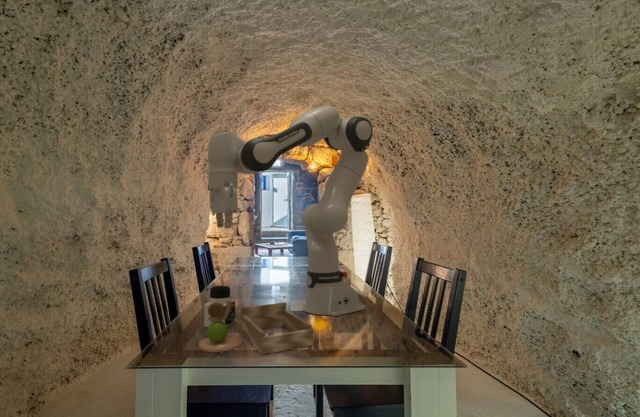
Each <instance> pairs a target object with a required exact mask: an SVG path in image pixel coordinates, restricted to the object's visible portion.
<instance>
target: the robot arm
mask: <svg viewBox="0 0 640 417" xmlns="http://www.w3.org/2000/svg"><path fill="white" fill-rule="evenodd" d="M373 131H374V130H373V125H372V123H371V121H370V120H369V119H368V118H366V117H365V116H353V117H348V118H344V119H343V118H341V116H340V113H339V112H338V110H337V109H336V108H335V107H333V106H331V105H323V106H320V107H316V108H313V109H310V110H308V111H306V112H304V113H302V114H300V115H299V116H297V117H296V118H295V119H293V120H292V121H290V124H289V127H288V128H286V129H284V130H282V131H280V132H278V133H276V134H274V135H272V136H267V137H263V136H262V137H261V136H260V137H254V138H250V139H249V140H248V141H246V140H244V139H242V138H240V137H239V136H238V135H236V134H235V132H234V131H229V130H225V131H223V130H222V131H218V132H215V133H213V134H212V135H211V136H210V137H209V140H208V145H207V146H208V147H207V161H208V165H209V166H208V167H209V169H208V173H207V174H208V175H207V178H208V183H207V191H209V204H210V205H209V206H210V211H211V213H212V214H215V219H216V227H217V228H219V229H220V228H224V229H231V228H232V221H233V218H234V216H233V213H234V214H235V213H237V212H238V209H239V205H238V203H239V201H238V191H237V190H238V189H239V188H238V184H239V182H238V177H239V176H238V173H240V174H245V175H254V174H257V173H260V172H265V171H268V170H269V169H271V168H272V167H273V166H274V164H275V163H276V161H277V160H278V159H279V158H280V157H281V156H282V155H284V154H286V153H287V152H290V151H291V150H293V149H295V148H297V147H300V148H306V147H310V146H313V145H315V144H317V143H319V142H321V141H323V140H324V142H325V144H326V145H327V147H328V148H330V149H332V150H335V151H340V155H339V156H340V157H339V159H338V161H337V163H336V164H335V166H334V167H333V170H332V171H331V173H330V175H329V176H328V179H327V180H326V181H325V184H324V192H323V195H322V198H321V200H320V201H319V202H317V203H312V204H310V205H308V206H306V208H304V210H303V212H302V214H301V222H302V225H303V226H304V232H305V238H306V244H307V254H308V256H307V257H308V258H307V259H308V260H307V262H308V263H307V264H308V265H307V266H308V267H307V268H308V269H307V271H306V284H307V285H306V286H307V292H306V300H305V303H304V307H303V311H304V312H306V313H308V314H312V315H322V316H324V315H325V316H331V317H332V316H333V317H338V316H341V315H345V314H346V315H347V314H350V313H354V312H359V311H364V310H365V309H366V307H365V305H364V304H363V303H362V302H360V301H359V300H360V299H359V295H358V293H357V291H356V290H355V289H354V288H353V287H352V286H350V284H348V283H347V282H345V281H344V279H343V278H345V279H346V278H348V276H349V273H348V272H347V271H341V270H339V267H340V266H339V248H338V245H337V243H336V241H335V236H334V233H338V232H340V231H342V230H343V229H344V228H345V227H346V226H347V224H348V220H349V214H348V211H349V207H350V203H351V200H352V198H353V196H354V194H355V192H356V190H357V188H358V186H359V184H360V182H361V181H362V178H363V177H364V174H365V171H367V170H366V169H367V167H368V163H369V160H370V159H369V155H368V152H366V151H367V149H369V147H370V143H371V140H372V138H373V133H374V132H373Z"/></svg>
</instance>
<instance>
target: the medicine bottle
mask: <svg viewBox="0 0 640 417" xmlns="http://www.w3.org/2000/svg"><path fill="white" fill-rule="evenodd" d="M209 291H210V292H209V293H210V295H209V301H208V302H206V303H204V309H203V310H204V311H203V312H204V313H203V314H204V318H203V322H204V324H203V326H204V327H205V328H208V327H209V325H210V324H211V323H213V322H211V321H210V320H209V319H208V317H211V316H210V315H209V314H208V308H209V306H210V305H211V304H212V303H215V302H219V303H221V304H223V305H224V307H225V310H226V307H227V304H226V302H227V301H228V300H231V301H232V304H231V308H230V312H229V315H228V317H227V318H226V319H225V320H223V321H222V322H224V323H225V324H226V325H227V327H228V328H229V326H231V325H232V324H234V323H235V322H236V300H235V299H231V298H230V296H231V287H230V286H228V285H224V284H223V285H221V284H219V285H214V286H212V287H211V288H210V290H209Z"/></svg>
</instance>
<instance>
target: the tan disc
mask: <svg viewBox="0 0 640 417" xmlns="http://www.w3.org/2000/svg"><path fill="white" fill-rule="evenodd" d="M242 344H243V339H242V337H240V336H239V335H236V334H227V336H226V338H225V339H224V340H223V341H221V342H212V341H211V340H209V338H208V336H207V337H205V338H202V339H201V340H200V341H199V342H198V348H199V349H200V350H201V351H203V352H207V353H222V352H228V351H233V350H235V349H238V348H239V347H240V346H242Z"/></svg>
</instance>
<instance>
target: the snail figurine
mask: <svg viewBox="0 0 640 417" xmlns="http://www.w3.org/2000/svg"><path fill="white" fill-rule="evenodd" d="M232 296H233V295H230V299H229V300H228V301H227V302H226V304H227V307H226V310H225V307H224V305H223V304H221V303H219V302H215V303H212V304H211V305H210V306H209V308H208V314H209V315H210V316H211V317H208V319H209V320H210V321H211V322H213V323H211V324H210V325H209V327H207V329H206V336H207V337H208V338H209V340H211V341H212V342H221V341H223V340H224V339H225V338H226V336H227V334H228V333H229V326H228V327H227V325H226V324H225V323H224V322H222V321H223V320H225V319H226V318H227V317H228V315H229V312H230V308H231V304H232V301H231V300H232V298H233V297H232Z"/></svg>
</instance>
